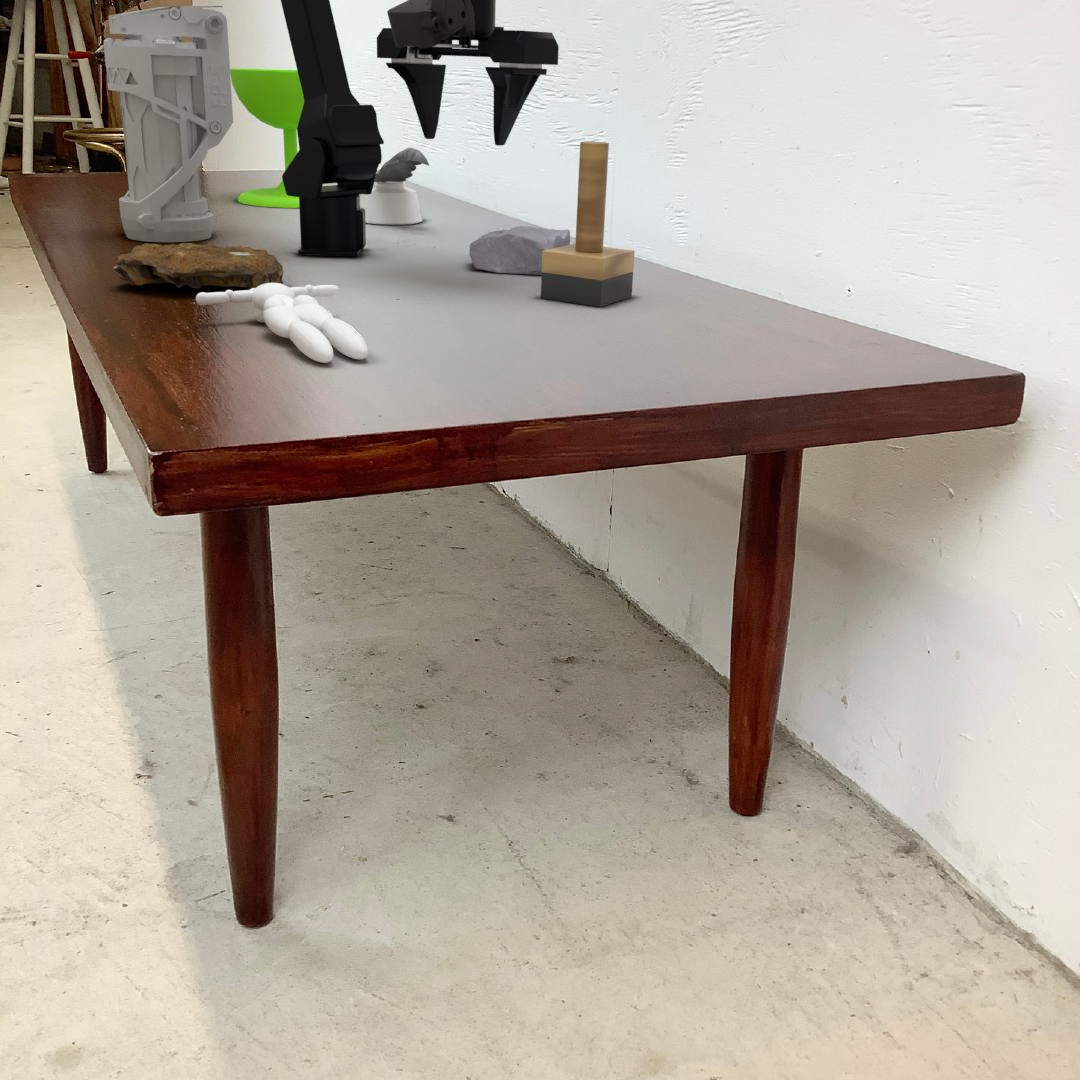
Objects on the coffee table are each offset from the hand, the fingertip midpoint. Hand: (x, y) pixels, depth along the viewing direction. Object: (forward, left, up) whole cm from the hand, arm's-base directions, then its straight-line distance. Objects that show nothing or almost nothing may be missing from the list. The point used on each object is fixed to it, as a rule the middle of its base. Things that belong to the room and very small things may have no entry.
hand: (463, 142), depth 114 cm
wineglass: (-27, +59, -13) cm, 66 cm away
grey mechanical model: (-34, +21, -13) cm, 42 cm away
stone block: (+6, +8, -13) cm, 16 cm away
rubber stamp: (+12, -10, -13) cm, 20 cm away
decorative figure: (-12, -31, -13) cm, 35 cm away
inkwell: (-9, +37, -13) cm, 40 cm away
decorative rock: (-24, -11, -13) cm, 29 cm away
